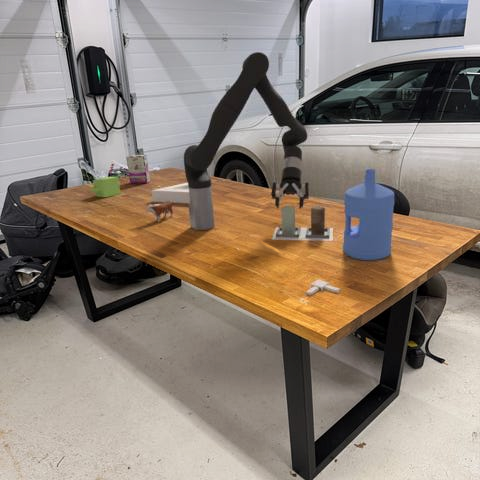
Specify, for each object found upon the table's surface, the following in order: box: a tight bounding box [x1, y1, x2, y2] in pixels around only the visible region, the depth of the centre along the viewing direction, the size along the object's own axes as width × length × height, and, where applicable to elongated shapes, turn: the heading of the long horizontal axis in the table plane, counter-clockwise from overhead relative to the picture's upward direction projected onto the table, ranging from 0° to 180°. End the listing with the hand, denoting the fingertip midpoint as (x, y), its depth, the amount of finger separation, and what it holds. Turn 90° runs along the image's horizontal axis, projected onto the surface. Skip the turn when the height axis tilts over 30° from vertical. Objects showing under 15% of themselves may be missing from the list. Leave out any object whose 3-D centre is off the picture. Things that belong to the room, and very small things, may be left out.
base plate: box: [271, 226, 334, 242], centre depth 171 cm, size 22×14×2 cm, turn 78°
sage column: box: [280, 205, 296, 234], centre depth 170 cm, size 5×5×10 cm
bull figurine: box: [145, 201, 174, 223], centre depth 199 cm, size 4×13×8 cm, turn 137°
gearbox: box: [89, 176, 121, 198], centre depth 247 cm, size 18×10×10 cm, turn 143°
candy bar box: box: [126, 154, 151, 185], centre depth 269 cm, size 11×5×16 cm, turn 80°
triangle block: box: [151, 182, 190, 205], centre depth 235 cm, size 30×26×6 cm
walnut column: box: [310, 205, 326, 235], centre depth 168 cm, size 5×5×10 cm
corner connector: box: [306, 279, 340, 296], centre depth 128 cm, size 8×8×2 cm
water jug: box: [342, 168, 395, 261], centre depth 148 cm, size 16×16×28 cm
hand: (289, 207), depth 172 cm, fingers open, 8 cm apart
